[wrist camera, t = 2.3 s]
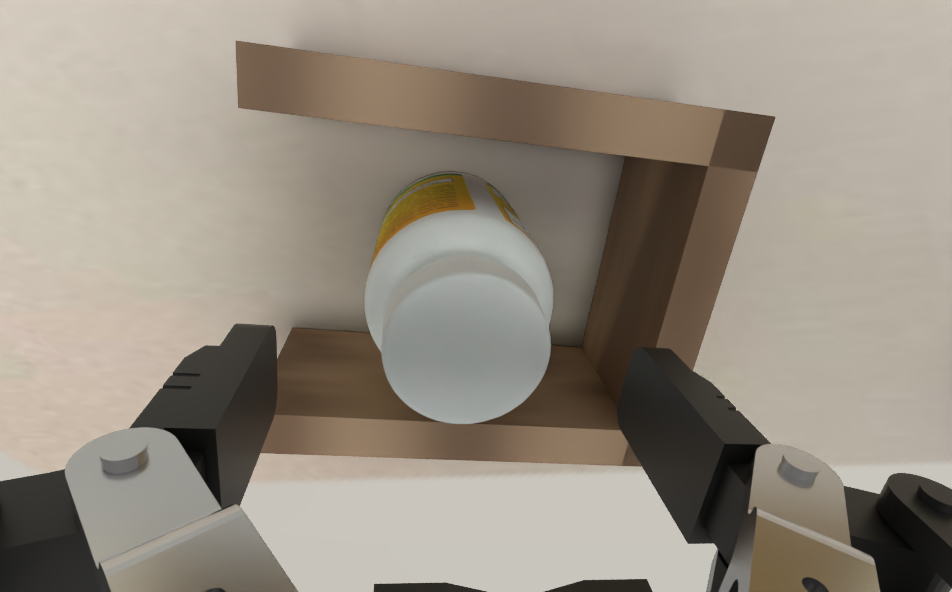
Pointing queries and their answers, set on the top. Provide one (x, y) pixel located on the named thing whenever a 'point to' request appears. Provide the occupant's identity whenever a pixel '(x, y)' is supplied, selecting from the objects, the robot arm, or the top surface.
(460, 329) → the supplement bottle
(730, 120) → the walnut open box
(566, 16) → the top surface
